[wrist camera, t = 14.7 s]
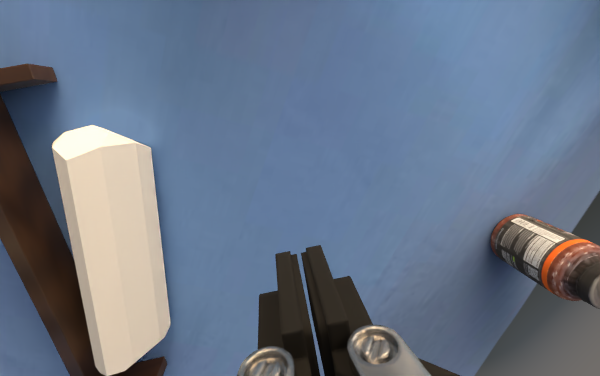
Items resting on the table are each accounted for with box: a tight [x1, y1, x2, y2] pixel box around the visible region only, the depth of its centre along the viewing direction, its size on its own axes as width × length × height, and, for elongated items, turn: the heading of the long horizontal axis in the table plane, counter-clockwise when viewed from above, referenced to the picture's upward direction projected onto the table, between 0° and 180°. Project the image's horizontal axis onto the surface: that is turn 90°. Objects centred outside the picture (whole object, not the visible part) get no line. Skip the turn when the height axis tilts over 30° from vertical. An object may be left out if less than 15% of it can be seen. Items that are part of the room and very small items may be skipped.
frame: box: [0, 64, 167, 376], centre depth 29 cm, size 33×6×5 cm, turn 10°
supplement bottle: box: [491, 214, 600, 309], centre depth 32 cm, size 6×6×11 cm
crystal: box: [52, 125, 171, 376], centre depth 30 cm, size 7×7×24 cm
